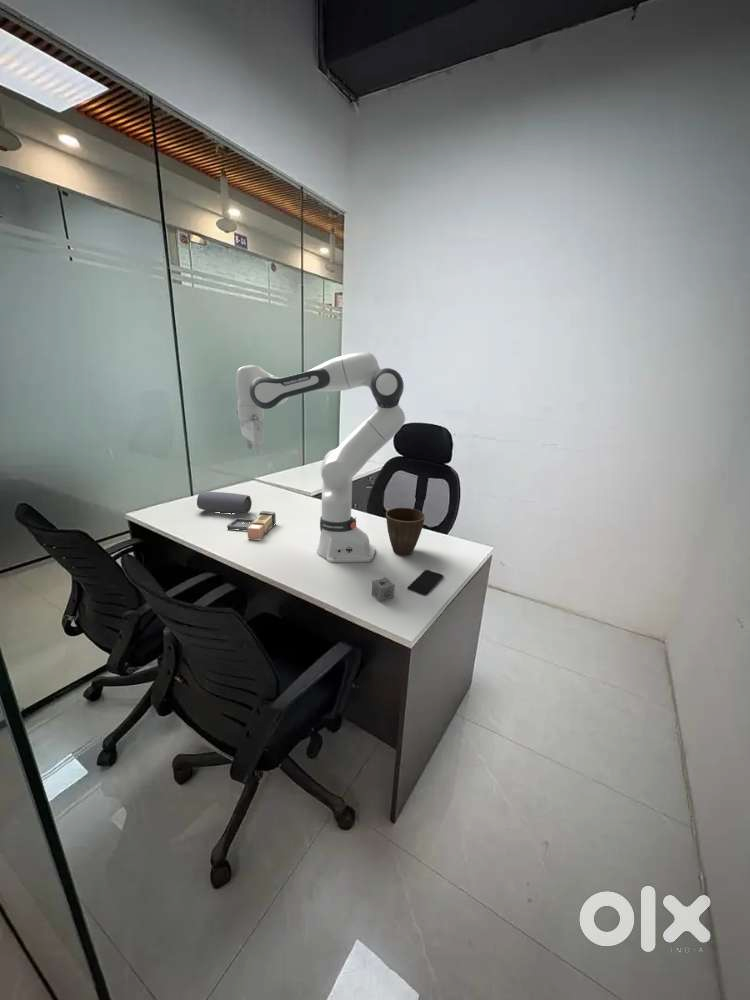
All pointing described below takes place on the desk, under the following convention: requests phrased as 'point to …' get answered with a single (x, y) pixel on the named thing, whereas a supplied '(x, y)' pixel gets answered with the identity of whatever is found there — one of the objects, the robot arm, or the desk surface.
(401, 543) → the plant pot
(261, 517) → the block
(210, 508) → the bluetooth speaker
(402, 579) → the desk surface
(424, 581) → the smartphone
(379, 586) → the dice cube
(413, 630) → the desk surface
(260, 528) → the orange cube
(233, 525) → the tray
